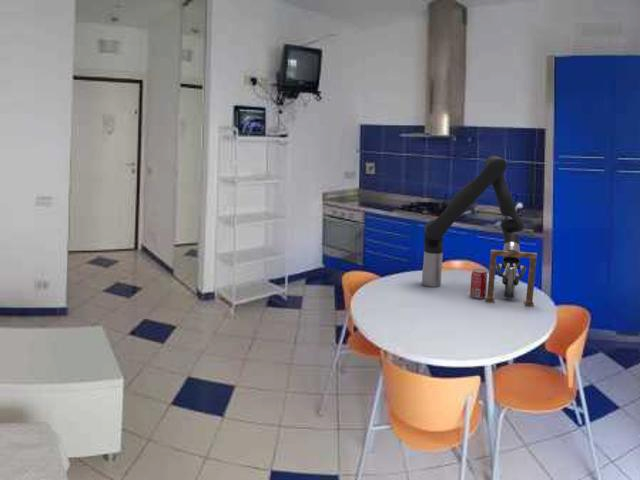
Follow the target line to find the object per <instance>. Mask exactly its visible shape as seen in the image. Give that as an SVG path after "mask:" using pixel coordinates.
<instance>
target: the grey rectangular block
mask: <svg viewBox="0 0 640 480" xmlns="http://www.w3.org/2000/svg"><path fill="white" fill-rule="evenodd" d="M516 270H517V268H515V267H507V268H506V284H505V285H504V293H503V297H504V298H506V299H513V298H515V287H516V286H515V280H516Z"/></svg>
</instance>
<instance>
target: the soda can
mask: <svg viewBox="0 0 640 480" xmlns="http://www.w3.org/2000/svg"><path fill="white" fill-rule="evenodd" d="M487 282H488V274H487V270H485V269H481V268H475V269H472V272H471V274H470V290H469V291H470V293H469V296H470V297H472V298H473V299H477V300H482V299H485V297H487V296H486V295H487V286H488V285H487Z"/></svg>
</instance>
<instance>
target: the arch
mask: <svg viewBox="0 0 640 480" xmlns="http://www.w3.org/2000/svg"><path fill="white" fill-rule="evenodd" d="M497 256H498V257H503V256H507V257H520V259H524V258H526V259H529V265H528V266H529V267H528V278H527V287H526V298H525V300H524V301H523V305H525V306H524V307H531V306H534V307H535V304H534V301H533V298H534V288H535V279H536V269H537V258H538V253H537V252H528V251H527V252H526V251H520V252H517V251H503V250H501V249H490V257H489V259H490V261H489V271H488V272H489V273H488V280H487V282H488V285H487V293H486V295H487V296H485V297H484V302H485V303H495V297H494V290H495V279H496V264H497Z"/></svg>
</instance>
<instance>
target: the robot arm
mask: <svg viewBox="0 0 640 480" xmlns="http://www.w3.org/2000/svg"><path fill="white" fill-rule="evenodd" d="M483 167H484V168H483V170H481V172H480V173H479V174H478V176H476V177H475V178H474V179H472V180H471V181H470V182H468V183H466V184H465V185H464V186H462V187H461V189H459V190H458V191H457V193H456V194H454V195H453V197H452V198H451V199H450V201H449V202H448V203H447V206H446V207H445V209H444V210H443V212H442V213H441V214H440V215H439V216H438V217H436V219H431V220H429V221H428V222H427V223H426V224H425V227H424V240H423V241H424V242H423V243H424V244H423V266H422V275H421V276H422V277H421V285H422V286H427V287H429V288H430V287H433V288H435V287H440V286H441V284H442V272H443V271H442V269H443V256H444V254H443V253H444V252H443V251H444V244H443V243H444V242H443V241H444V240H443V239H444V235H445V234H446V233H447V231H448V230H449V229H450V228H451V227H452V226H453V224H454V223H455V222H456V221H457V220H458V219H459V218H460V217H461V216H463V215H464V213H465V212H466V211H467V210H469V209H470V207H472V206H473V204H474V203H475V202H476V201H477V200H478V199H479V198H480V197H481V196H482V195H483V193H485V191H486V190H487V189H488V188H489V186H491V185H492V187H493V191H494V193H495V197H496V200H497V204H498V207H499V211H500V215H501V216H503V217H510V218H508V219H504V220H503V221H501V224H500V227H501V231H502V234H503V248H502V249H503V251H517V252H521V249H520V239H521V238H520V235H519V234H518V233H520V232H522V231H524V228H525V224H524V221H523V219H522V217H521V216H520V215H519V213H518V211H517V209H516V206H515V202H514V199H513V196H512V195H511V191H510V189H509V188H508V186H507V183H506V180H505V179H506V178H505V175H504V173H505V172H506V171H507V167H508V164H507V162H506V160H505V159H504V158H503V157H500V156H497V155H491V156H489V157H487V158H486V159H485V161H484V164H483ZM520 259H521V258H520V257H507V256H502V262H501V263H499V262H498V263H497V262H496V268H495V270H496V271H497V275H498V277H501V278H502V280H501V281H502V284H503V285H504V286H505V284H506V268H507V267H515V268H517V270H516V280H515V287H517V286H518V285H519V282H520V281H519V280H520V279H523V277H524V275H525V272H526V270H527V266H526V265H522V264H521V263H520V262H521V261H520ZM501 269H503V270H504V271H503V272H502V270H501ZM519 269H520V271H521V272H520V274H519Z"/></svg>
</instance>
